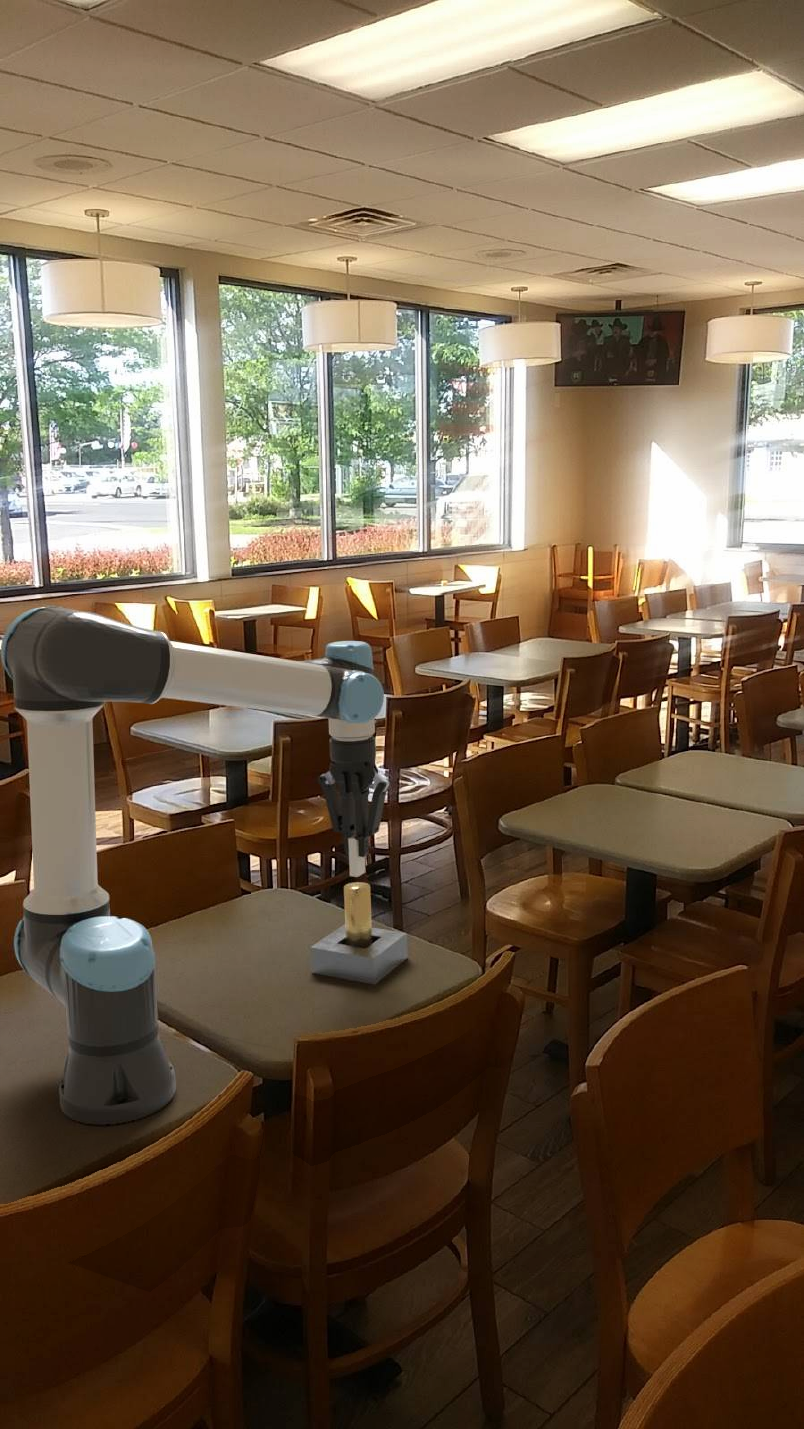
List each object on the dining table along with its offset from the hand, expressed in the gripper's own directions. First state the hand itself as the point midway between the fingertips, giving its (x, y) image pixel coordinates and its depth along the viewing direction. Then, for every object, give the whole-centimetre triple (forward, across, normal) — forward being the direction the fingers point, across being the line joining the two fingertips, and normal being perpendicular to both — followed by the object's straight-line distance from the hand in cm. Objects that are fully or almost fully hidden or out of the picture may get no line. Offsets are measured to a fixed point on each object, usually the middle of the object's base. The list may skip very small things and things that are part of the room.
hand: (357, 873), depth 192 cm
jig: (+16, 0, 0) cm, 16 cm away
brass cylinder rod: (+16, 0, 0) cm, 16 cm away
